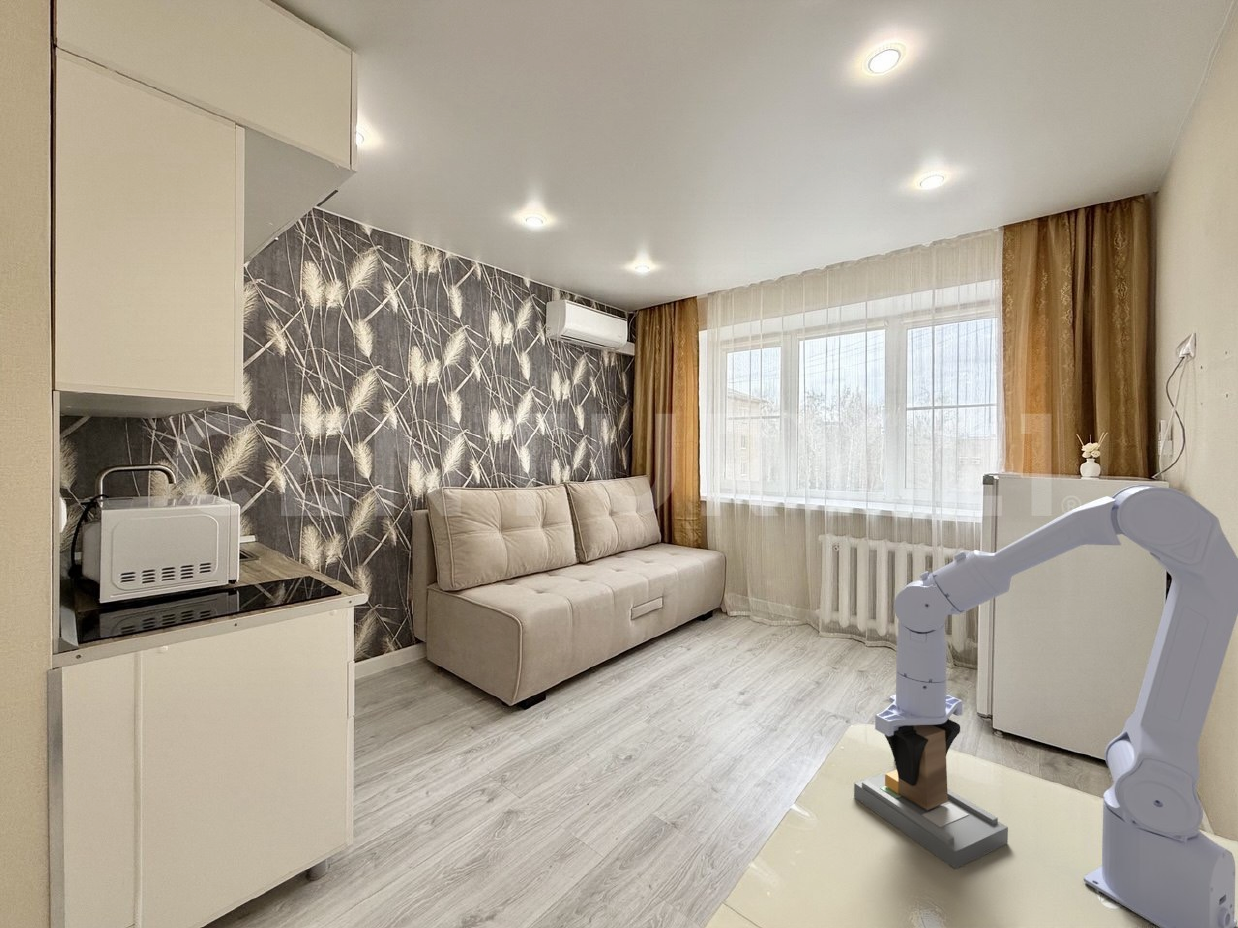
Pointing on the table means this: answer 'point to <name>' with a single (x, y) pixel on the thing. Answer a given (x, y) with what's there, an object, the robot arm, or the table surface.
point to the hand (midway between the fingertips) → (919, 776)
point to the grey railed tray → (936, 822)
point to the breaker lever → (892, 781)
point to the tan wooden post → (929, 771)
